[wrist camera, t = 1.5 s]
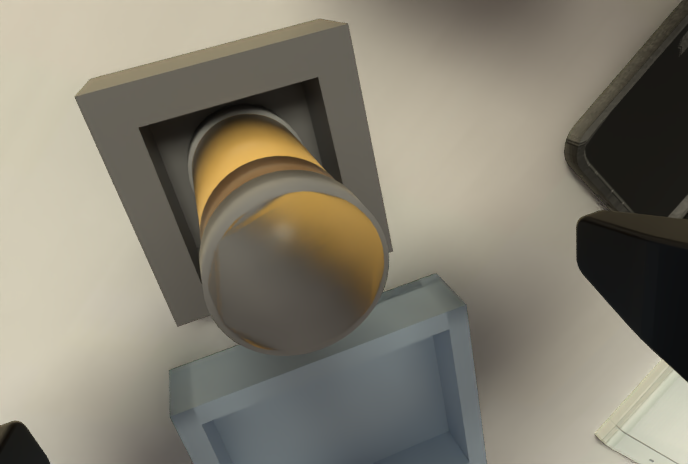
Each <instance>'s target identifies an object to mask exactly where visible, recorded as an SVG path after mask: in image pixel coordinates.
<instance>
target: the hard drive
mask: <svg viewBox="0 0 688 464" xmlns="http://www.w3.org/2000/svg"><path fill="white" fill-rule="evenodd" d="M595 435H596V436H597V437H598V438H599V439H600V440H601V441H602V442H603V443H604V444H605V445H607V446H608V447H610V448H611V449H613V450H614V451H616V452H618V453H620V454H622V455H624V456H625V457H627V458H629V459H631V460H633V461H635V462H636V463H638V464H688V382H687V381H685V380H684V379H683V378H682V377H681V376H680V375H679V374H678V373H677V372H676V371H675V370H673V369H672V368H671V367H670V366H669V365H668V364H667V363H666V362H665V361H664V360H663V359H662V360H661V361H660V362H659V363H658V364H657V365H656V366H655V367H654V369H653V370H652V371H651V372H650V373H649V374H648V375H647V376H646V377H645V378H644V380H643V381H642V382H641V383H640V384H639V385H638V386H637V387H636V388H635V389H634V391H633V392H632V393H631V394H630V395H629V396H628V397H627V398H626V399H625V400H624V402H623V403H622V404H621V405H620V406H619V407H618V408H617V409H616V410H615V412H614V413H613V414H612V415H611V416H610V417H609V418H608V419H607V420H606V421H605V423H604V424H603V425H602V426H601V427H600V428H599V429H598V430H597V431H596V433H595Z"/></svg>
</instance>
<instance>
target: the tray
mask: <svg viewBox="0 0 688 464" xmlns="http://www.w3.org/2000/svg"><path fill="white" fill-rule="evenodd" d="M169 392H170V418H171V420H172V422H173V424H174V426H175V428H176V430H177V432H178V434H179V436H180V438H181V440H182V442H183V444H184V446H185V448H186V450H187V452H188V454H189V456H190V458H191V460H192V462H193V464H487V460H486V452H485V444H484V437H483V429H482V421H481V414H480V406H479V398H478V390H477V383H476V375H475V367H474V360H473V352H472V344H471V336H470V329H469V321H468V313H467V306H466V304H465V303H464V302H463V301H462V300H461V298H460V297H459V296H458V295H457V294H456V293H455V292H454V291H453V290H452V289H451V288H450V287H449V286H448V285H447V284H446V283H445V282H444V281H443V280H442V279H441V278H440V277H439V276H438V275H437V274H433V275H430V276H427V277H425V278H422V279H419V280H416V281H414V282H411V283H408V284H405V285H403V286H400V287H397V288H394V289H392V290H389V291H386V292H383V293H382V294H381V297H380V299H379V300H378V302H377V304H376V306H375V307H374V309H373V310H372V312H371V313H370V314H369V316H368V317H367V318H366V319H365V320H364V321H363V322H362V323H361V324H360V325H359V326H358V327H357V328H356V329H355V330H354V331H353V332H351V333H350V334H348V335H347V336H346V337H344V338H343V339H341V340H339V341H338V342H336V343H334V344H332V345H330V346H328V347H325V348H323V349H320V350H317V351H314V352H311V353H306V354H301V355H292V356H276V355H269V354H263V353H259V352H256V351H253V350H250V349H248V348H245V347H243V346H242V345H237V346H235V347H232V348H229V349H226V350H224V351H221V352H218V353H215V354H213V355H210V356H207V357H204V358H202V359H199V360H196V361H193V362H191V363H188V364H185V365H182V366H180V367H177V368H174V369H171V370H169Z"/></svg>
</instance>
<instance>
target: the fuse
mask: <svg viewBox="0 0 688 464" xmlns="http://www.w3.org/2000/svg"><path fill="white" fill-rule="evenodd" d="M187 166H188V174H189V181H190V184H191V187H192V190H193V192H194V194H195V198H196V205H197V212H198V219H199V226H200V240H201V244H200V251H199V263H200V271H201V279H202V287H203V294H204V299H205V302H206V305H207V309H208V311H209V313H210V315H211V317H212V318H213V320H214V321H215V323H216V324H217V326H218V327H219V328H220V329H221V330H222V331H223V332H224V333H225V334H226V335H227V336H228V337H229V338H231V339H232V340H233V341H235V342H236V343H238V344H240V345H242V346H243V347H245V348H248V349H250V350H253V351H256V352H259V353H263V354H269V355H276V356H292V355H301V354H306V353H311V352H314V351H317V350H320V349H323V348H325V347H328V346H330V345H332V344H334V343H336V342H338V341H339V340H341V339H343V338H344V337H346V336H347V335H348V334H350V333H351V332H353V331H354V330H355V329H356V328H357V327H358V326H359V325H360V324H361V323H362V322H363V321H364V320H365V319H366V318H367V317H368V316H369V314H370V313H371V312H372V310H373V309H374V307H375V306H376V304H377V302H378V300H379V299H380V297H381V294H382V292H383V290H384V287H385V283H386V280H387V275H388V269H389V253H388V246H387V242H386V238H385V235H384V233H383V231H382V229H381V226H380V225H379V223H378V222H377V220H376V219H375V217H374V216H373V215H372V214H371V213H370V211H369V210H368V209H367V208H366V207H365V206H364V205H363V204H362V203H361V202H360V201H359V199H358V198H357V197H356V196H355V195H354V194H353V193H352V192H351V191H350V190H349V189H347V188H346V187H345V186H344V185H343V184H341V183H339V182H338V181H336V180H335V179H334V178H333V177H332V176H331V175H330V174H329V173H328V172H327V171H326V170H325V169H324V168H323V167H322V166H321V165H320V164H319V163H318V162H317V160H316V159H315V158H314V157H313V156H312V155H311V154H310V153H309V152H308V150H307V149H306V148H305V147H304V146H303V144H302V142H301V140H300V138H299V137H298V135H297V134H296V132H295V131H294V130H293V129H292V128H291V127H290V126H289V124H288V123H287V122H286V121H285V120H284V119H283V118H281V117H280V116H279V115H278V114H276V113H274V112H273V111H271V110H269V109H267V108H264V107H261V106H257V105H252V104H237V105H231V106H227V107H224V108H222V109H219V110H218V111H216V112H214V113H212V114H211V115H209V116H208V117H207V118H206V119H205V120H204V121H202V123H201V124H200V125H199V126H198V127H197V129H196V130H195V132H194V134H193V136H192V138H191V140H190V143H189V147H188V153H187Z"/></svg>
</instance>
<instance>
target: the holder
mask: <svg viewBox="0 0 688 464" xmlns="http://www.w3.org/2000/svg"><path fill="white" fill-rule="evenodd" d="M75 99H76V101H77V103H78V106H79V108H80V110H81V112H82V115H83V117H84V119H85V121H86V124H87V126H88V128H89V130H90V132H91V135H92V137H93V139H94V141H95V144H96V146H97V148H98V150H99V153H100V155H101V157H102V159H103V161H104V164H105V166H106V168H107V170H108V173H109V175H110V177H111V179H112V182H113V184H114V186H115V188H116V190H117V193H118V195H119V197H120V199H121V202H122V204H123V206H124V208H125V211H126V213H127V215H128V217H129V219H130V222H131V224H132V226H133V228H134V231H135V233H136V235H137V237H138V240H139V242H140V244H141V246H142V248H143V251H144V253H145V255H146V257H147V260H148V262H149V264H150V266H151V269H152V271H153V273H154V275H155V277H156V280H157V282H158V284H159V286H160V289H161V291H162V293H163V295H164V298H165V300H166V302H167V304H168V306H169V309H170V311H171V313H172V315H173V318H174V320H175V322H176V324H177V327H178V326H181V325H184V324H187V323H190V322H192V321H195V320H198V319H201V318H204V317H207V316H209V315H210V313H209V311H208V309H207V305H206V302H205V299H204V294H203V287H202V279H201V271H200V263H199V251H200V244H201V240H200V226H199V219H198V212H197V205H196V198H195V194H194V192H193V190H192V187H191V184H190V181H189V174H188V166H187V153H188V147H189V143H190V140H191V138H192V136H193V134H194V132H195V130H196V129H197V127H198V126H199V125H200V124H201V123H202V121H204V120H205V119H206V118H207V117H208V116H209V115H211V114H212V113H214V112H216V111H218V110H219V109H222V108H224V107H227V106H231V105H237V104H252V105H257V106H261V107H264V108H267V109H269V110H271V111H273V112H274V113H276V114H278V115H279V116H280V117H281V118H283V119H284V120H285V121H286V122H287V123H288V124H289V126H290V127H291V128H292V129H293V130H294V131H295V132H296V134H297V135H298V137H299V138H300V140H301V142H302V144H303V146H304V147H305V148H306V149H307V150H308V152H309V153H310V154H311V155H312V156H313V157H314V158H315V159H316V160H317V162H318V163H319V164H320V165H321V166H322V167H323V168H324V169H325V170H326V171H327V172H328V173H329V174H330V175H331V176H332V177H333V178H334V179H335V180H336V181H338V182H339V183H341V184H343V185H344V186H345V187H346V188H347V189H349V190H350V191H351V192H352V193H353V194H354V195H355V196H356V197H357V198H358V199H359V201H360V202H361V203H362V204H363V205H364V206H365V207H366V208H367V209H368V210H369V211H370V213H371V214H372V215H373V216H374V217H375V219H376V220H377V222H378V223H379V225H380V226H381V229H382V231H383V233H384V235H385V238H386V242H387V246H388V253H389V252H392V251H393V249H392V244H391V239H390V234H389V229H388V224H387V219H386V214H385V209H384V203H383V198H382V193H381V188H380V183H379V178H378V173H377V168H376V163H375V158H374V153H373V148H372V143H371V137H370V132H369V127H368V122H367V117H366V112H365V107H364V102H363V97H362V92H361V87H360V82H359V76H358V71H357V66H356V61H355V56H354V51H353V46H352V41H351V36H350V31H349V26H348V24H347V23H341V22H336V21H330V20H324V19H316V20H313V21H309V22H305V23H301V24H297V25H294V26H290V27H286V28H282V29H278V30H275V31H271V32H267V33H263V34H259V35H256V36H252V37H248V38H244V39H240V40H237V41H233V42H229V43H225V44H221V45H217V46H214V47H210V48H206V49H202V50H198V51H195V52H191V53H187V54H183V55H179V56H176V57H172V58H168V59H164V60H160V61H157V62H153V63H149V64H145V65H141V66H138V67H134V68H130V69H126V70H122V71H119V72H115V73H111V74H107V75H103V76H100V77H96V78H92V79H90V80H89V81H88V82H87V83H86V84H85V85H84V86H83V88H82V89H81V90H80V91H79V92H78V93H77V94H76V96H75Z"/></svg>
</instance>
